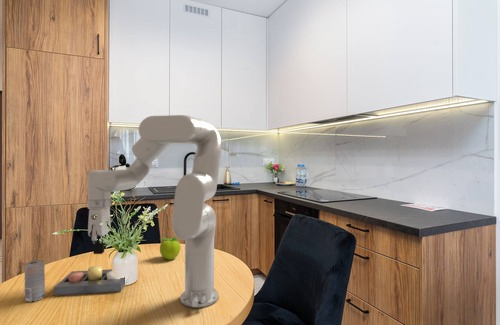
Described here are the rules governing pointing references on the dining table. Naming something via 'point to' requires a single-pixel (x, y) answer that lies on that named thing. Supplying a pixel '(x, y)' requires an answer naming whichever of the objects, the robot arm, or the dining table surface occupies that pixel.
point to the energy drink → (34, 280)
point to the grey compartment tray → (89, 285)
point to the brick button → (76, 277)
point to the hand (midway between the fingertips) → (98, 253)
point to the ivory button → (111, 275)
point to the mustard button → (95, 273)
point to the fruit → (170, 248)
